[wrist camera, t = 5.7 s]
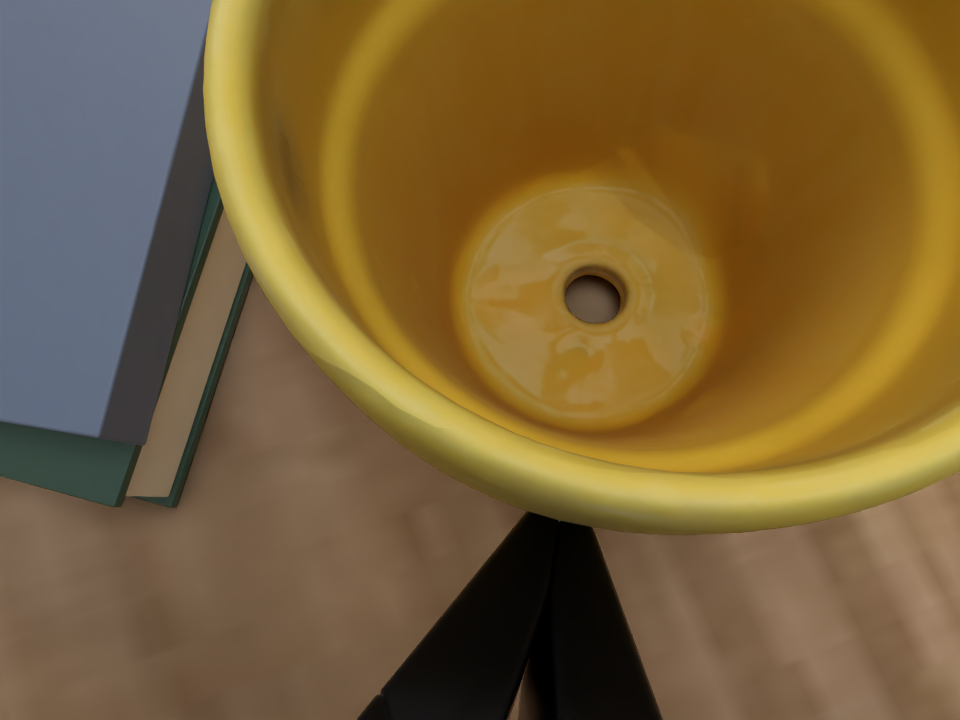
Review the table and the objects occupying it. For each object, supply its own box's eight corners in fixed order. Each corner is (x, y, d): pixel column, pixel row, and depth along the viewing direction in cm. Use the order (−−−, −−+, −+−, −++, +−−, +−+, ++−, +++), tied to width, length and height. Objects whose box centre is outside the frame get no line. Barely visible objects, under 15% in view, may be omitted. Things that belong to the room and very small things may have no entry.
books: (185, 510, 17) (72, 510, 12) (-176, 411, 18) (-398, 379, 13) (327, 76, 19) (271, -53, 15) (-2, 6, 20) (-146, -135, 15)
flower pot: (731, 68, 19) (967, -424, 9) (876, 472, 16) (1405, 385, 7) (328, 161, 18) (135, -239, 9) (414, 584, 16) (277, 659, 6)
